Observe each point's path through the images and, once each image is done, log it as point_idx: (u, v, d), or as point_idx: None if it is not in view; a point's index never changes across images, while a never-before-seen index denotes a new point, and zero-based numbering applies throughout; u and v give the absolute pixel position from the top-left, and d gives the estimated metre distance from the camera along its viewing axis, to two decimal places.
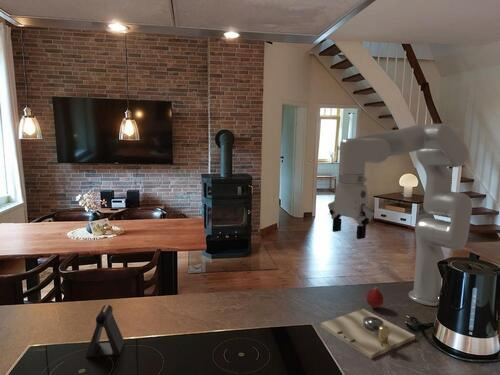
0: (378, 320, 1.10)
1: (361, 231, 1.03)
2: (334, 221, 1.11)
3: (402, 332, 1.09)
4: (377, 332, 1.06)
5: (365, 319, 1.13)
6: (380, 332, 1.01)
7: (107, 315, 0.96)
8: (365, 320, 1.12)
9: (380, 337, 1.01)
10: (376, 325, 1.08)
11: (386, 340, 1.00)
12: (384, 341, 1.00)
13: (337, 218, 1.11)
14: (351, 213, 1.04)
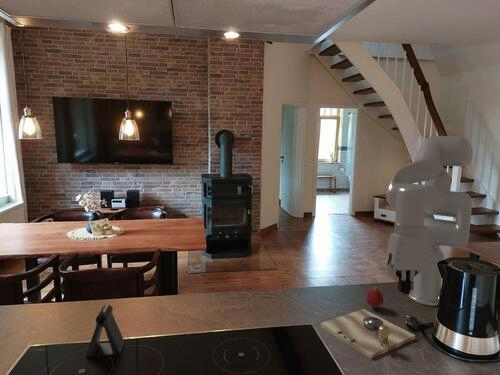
0: (378, 320, 1.10)
1: None
2: (406, 282, 0.99)
3: (402, 332, 1.09)
4: (377, 332, 1.06)
5: (365, 319, 1.13)
6: (380, 332, 1.01)
7: (107, 315, 0.96)
8: (365, 320, 1.12)
9: (380, 337, 1.01)
10: (376, 325, 1.08)
11: (386, 340, 1.00)
12: (384, 341, 1.00)
13: None
14: (419, 265, 0.98)
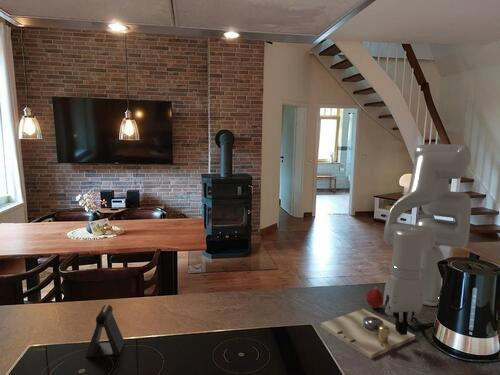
0: (378, 320, 1.10)
1: None
2: (403, 324, 1.01)
3: None
4: (377, 332, 1.06)
5: (365, 319, 1.13)
6: (380, 332, 1.01)
7: (107, 315, 0.96)
8: (365, 320, 1.12)
9: (380, 337, 1.01)
10: (376, 325, 1.08)
11: (386, 340, 1.00)
12: (384, 341, 1.00)
13: None
14: (415, 307, 1.00)
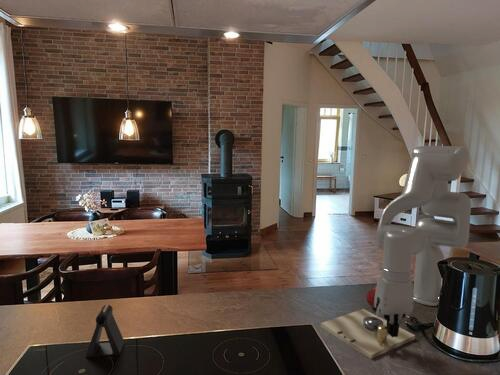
0: (378, 320, 1.10)
1: (397, 327, 1.02)
2: (394, 326, 1.01)
3: (402, 332, 1.09)
4: (376, 332, 1.06)
5: (365, 319, 1.13)
6: (379, 332, 1.01)
7: (107, 315, 0.96)
8: (365, 320, 1.12)
9: (379, 337, 1.01)
10: (376, 325, 1.08)
11: (384, 340, 1.00)
12: (383, 341, 1.00)
13: None
14: (406, 309, 1.00)
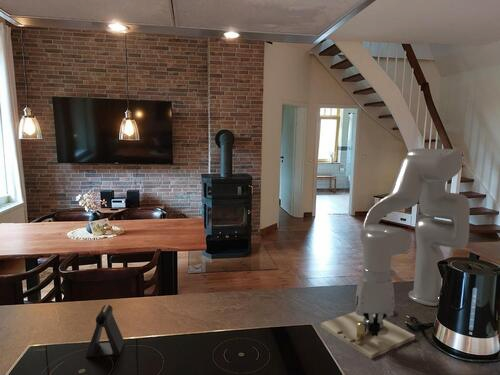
0: None
1: (378, 327, 1.02)
2: (374, 325, 1.01)
3: (402, 332, 1.09)
4: None
5: None
6: (357, 326, 1.04)
7: (107, 315, 0.96)
8: None
9: None
10: None
11: (360, 335, 1.03)
12: (359, 336, 1.03)
13: None
14: (386, 309, 1.00)
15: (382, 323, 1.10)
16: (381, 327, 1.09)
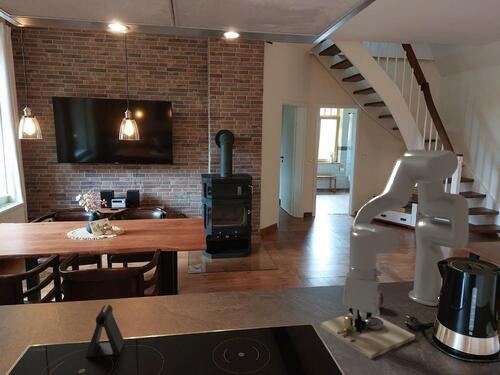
0: (374, 321, 1.10)
1: (363, 325, 1.04)
2: (358, 321, 1.04)
3: (402, 332, 1.09)
4: None
5: None
6: None
7: (107, 315, 0.96)
8: None
9: None
10: None
11: (346, 328, 1.07)
12: (344, 328, 1.07)
13: (359, 317, 1.05)
14: (368, 308, 1.01)
15: (380, 325, 1.09)
16: (378, 328, 1.09)
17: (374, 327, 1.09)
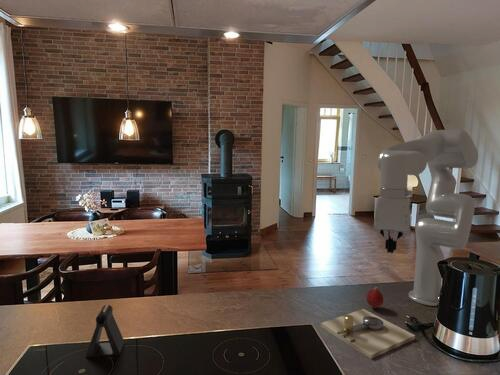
0: (374, 321, 1.10)
1: (394, 245, 1.07)
2: (389, 242, 1.07)
3: (402, 332, 1.09)
4: (357, 325, 1.09)
5: None
6: None
7: (107, 315, 0.96)
8: None
9: None
10: (365, 322, 1.10)
11: (346, 328, 1.07)
12: (344, 328, 1.07)
13: (390, 238, 1.08)
14: (399, 227, 1.04)
15: (380, 325, 1.09)
16: (378, 328, 1.09)
17: (374, 327, 1.09)
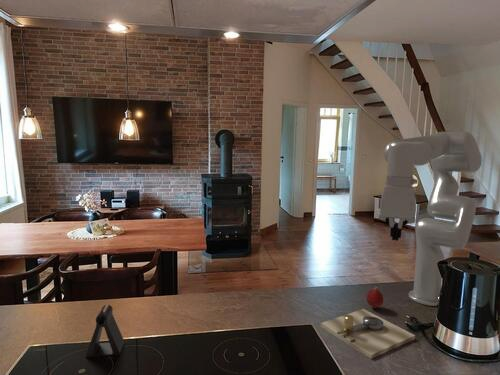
0: (374, 321, 1.10)
1: (399, 233, 1.10)
2: (394, 229, 1.10)
3: (402, 332, 1.09)
4: (357, 325, 1.09)
5: None
6: None
7: (107, 315, 0.96)
8: None
9: None
10: (365, 322, 1.10)
11: (346, 328, 1.07)
12: (344, 328, 1.07)
13: (395, 226, 1.11)
14: (405, 214, 1.07)
15: (380, 325, 1.09)
16: (378, 328, 1.09)
17: (374, 327, 1.09)
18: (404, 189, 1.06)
